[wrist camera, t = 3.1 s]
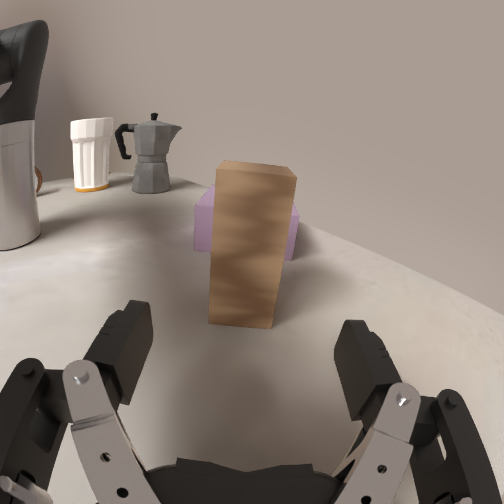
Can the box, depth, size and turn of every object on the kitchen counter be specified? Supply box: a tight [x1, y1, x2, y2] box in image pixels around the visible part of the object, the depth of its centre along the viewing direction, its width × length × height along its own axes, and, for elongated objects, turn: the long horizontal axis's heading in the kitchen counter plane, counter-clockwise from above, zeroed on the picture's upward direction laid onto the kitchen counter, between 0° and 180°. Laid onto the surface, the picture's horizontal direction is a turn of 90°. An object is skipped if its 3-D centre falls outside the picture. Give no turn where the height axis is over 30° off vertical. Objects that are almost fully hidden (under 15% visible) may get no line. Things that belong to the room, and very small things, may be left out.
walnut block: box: [209, 160, 297, 329], centre depth 21 cm, size 5×5×12 cm
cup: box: [71, 118, 114, 192], centre depth 56 cm, size 11×11×17 cm
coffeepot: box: [115, 113, 182, 194], centre depth 56 cm, size 15×9×18 cm, turn 115°
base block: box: [194, 185, 299, 261], centre depth 38 cm, size 12×12×6 cm
